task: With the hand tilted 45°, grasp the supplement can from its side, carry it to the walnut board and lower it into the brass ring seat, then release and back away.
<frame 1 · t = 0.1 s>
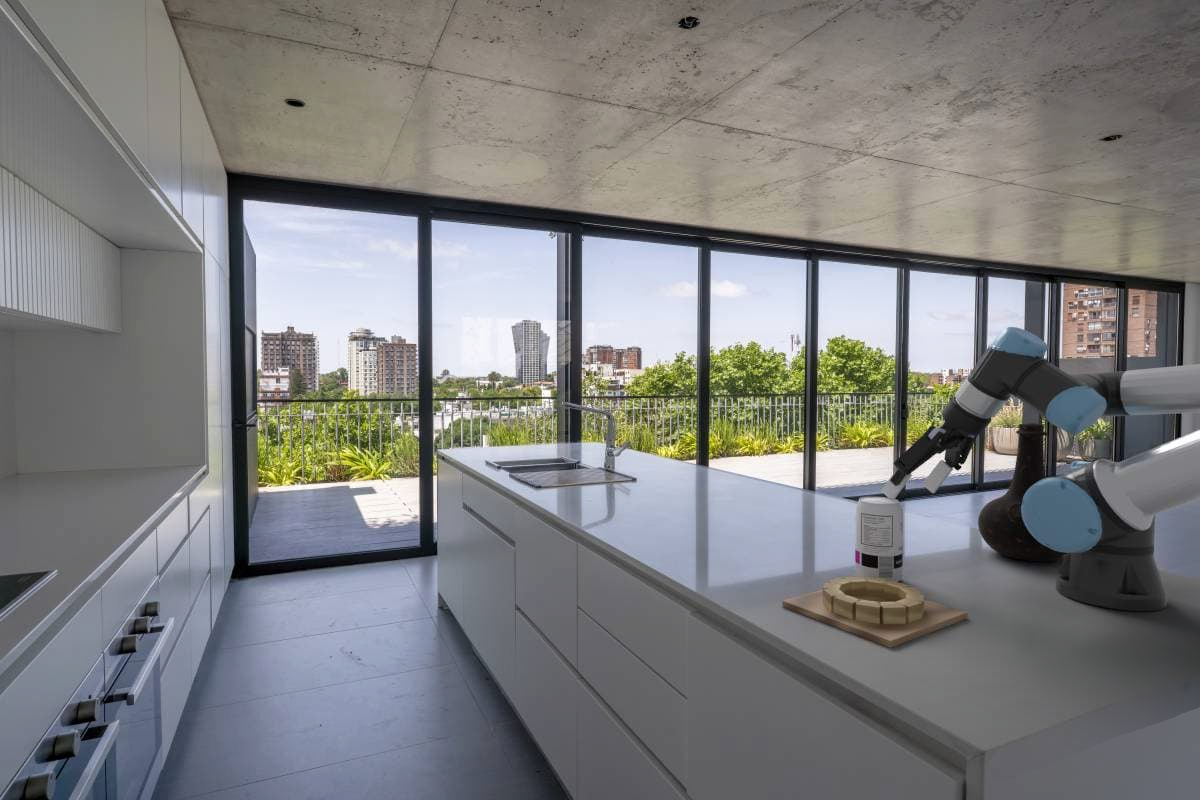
hand: (908, 492, 131), 15 cm above the worktop, tool tilted 35°, fingers open, 13 cm apart
hub seat: (872, 612, 108), on the worktop
supplement can: (878, 580, 125), on the worktop, touching gripper
dark vase: (1027, 557, 139), on the worktop
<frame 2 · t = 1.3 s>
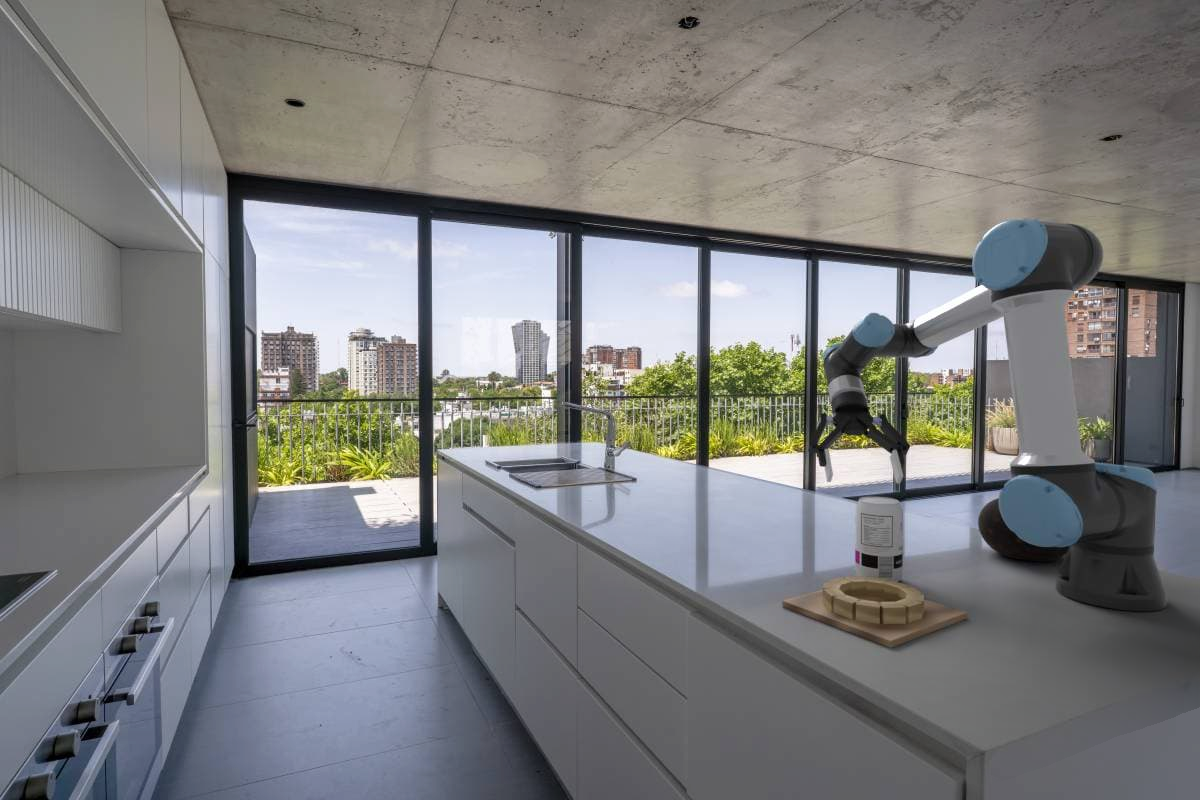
hand: (864, 479, 134), 17 cm above the worktop, tool tilted 45°, fingers open, 13 cm apart
supplement can: (878, 580, 125), on the worktop
everything else where it was.
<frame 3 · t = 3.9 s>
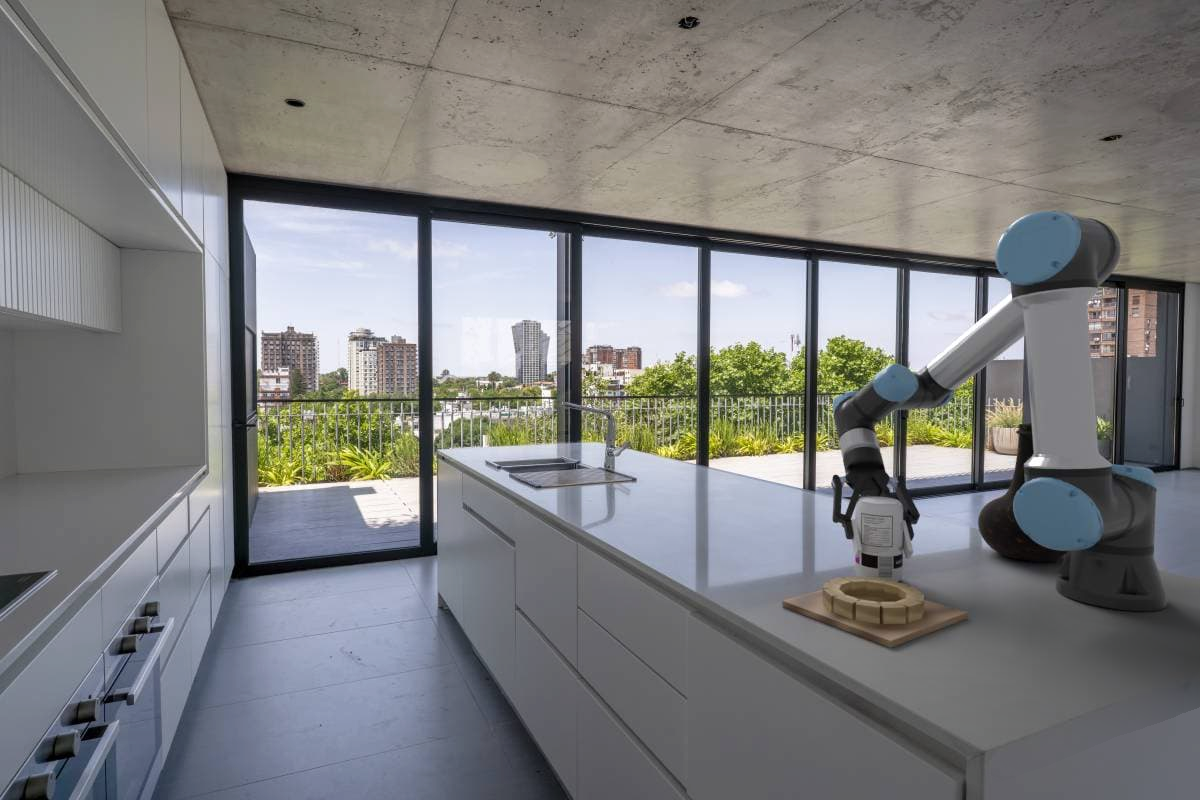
hand: (883, 554, 121), 6 cm above the worktop, tool tilted 45°, fingers closed on supplement can, 8 cm apart
supplement can: (878, 579, 125), on the worktop, touching gripper
everything else where it was.
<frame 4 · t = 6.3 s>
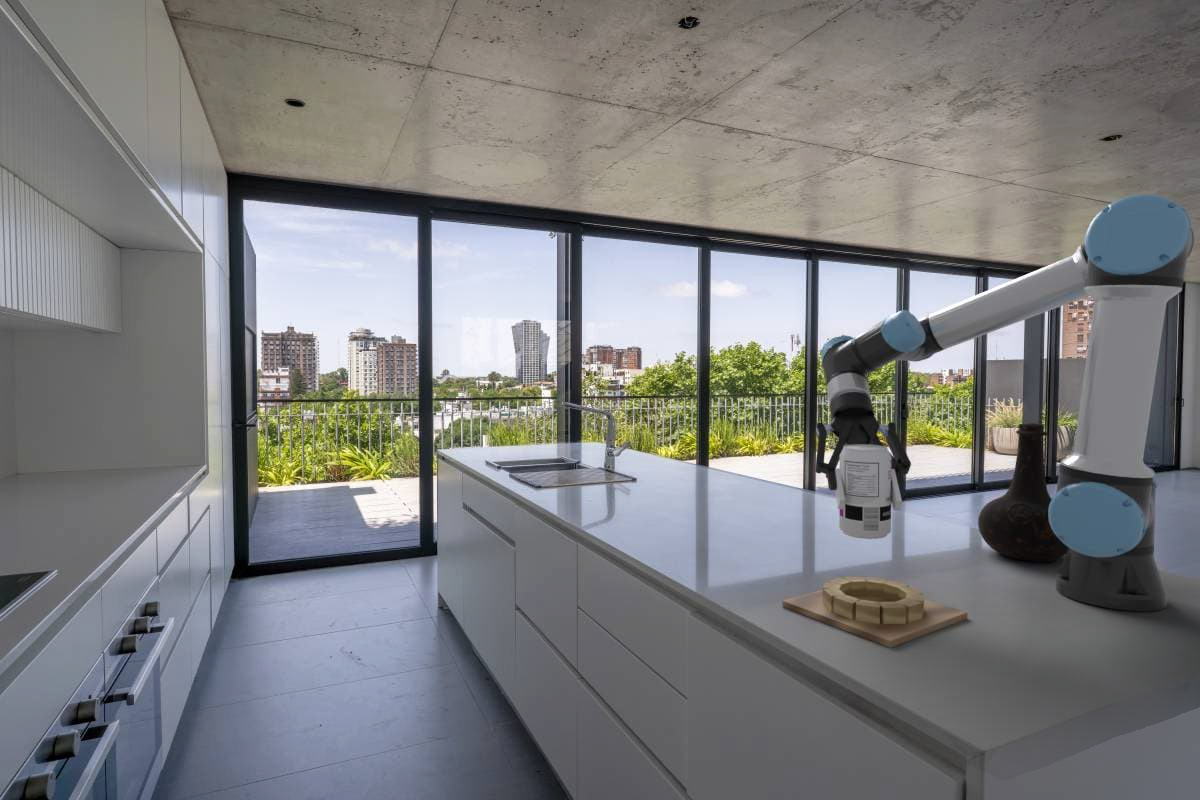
hand: (869, 505, 110), 17 cm above the worktop, tool tilted 45°, fingers closed on supplement can, 8 cm apart
supplement can: (864, 534, 114), point 11 cm above the worktop, touching gripper
everything else where it was.
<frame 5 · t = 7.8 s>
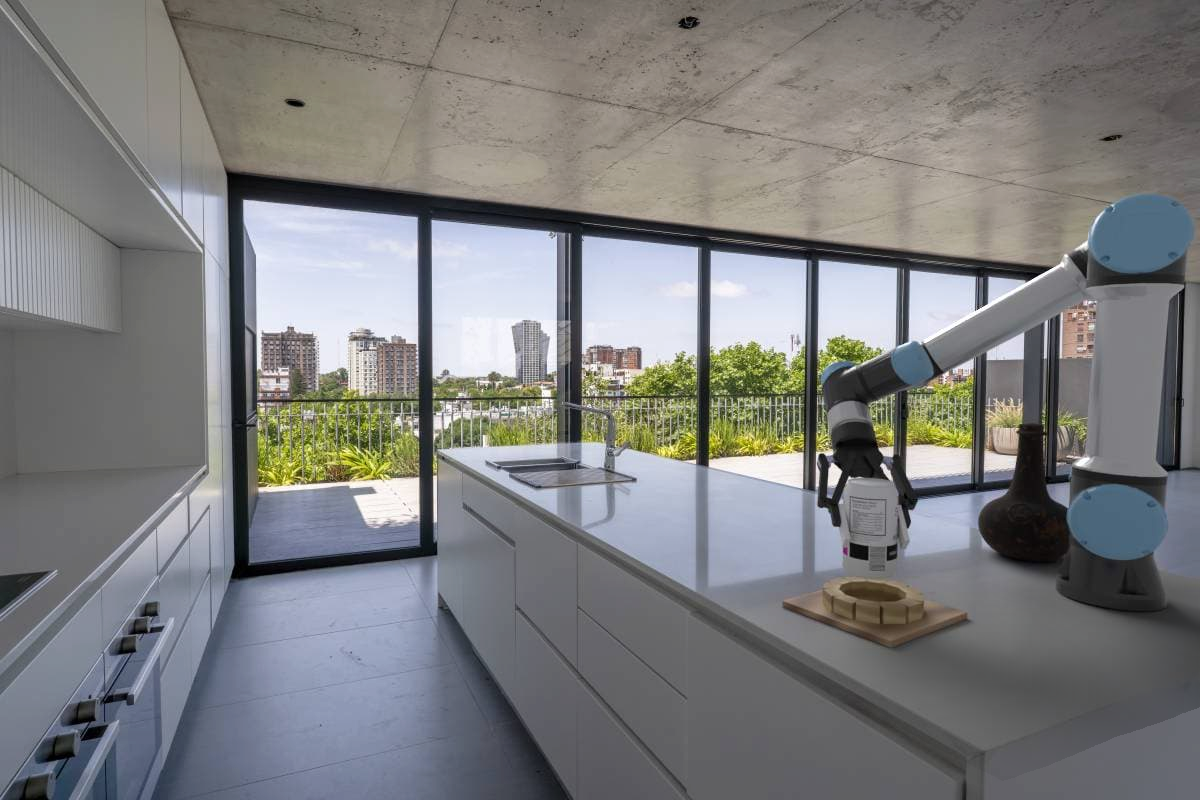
hand: (875, 543, 104), 12 cm above the worktop, tool tilted 45°, fingers closed on supplement can, 8 cm apart
supplement can: (869, 573, 108), point 6 cm above the worktop, touching gripper
everything else where it was.
when the fingers open (8 cm above the worktop, at t = 9.0 s): supplement can drops 1 cm, resting on hub seat.
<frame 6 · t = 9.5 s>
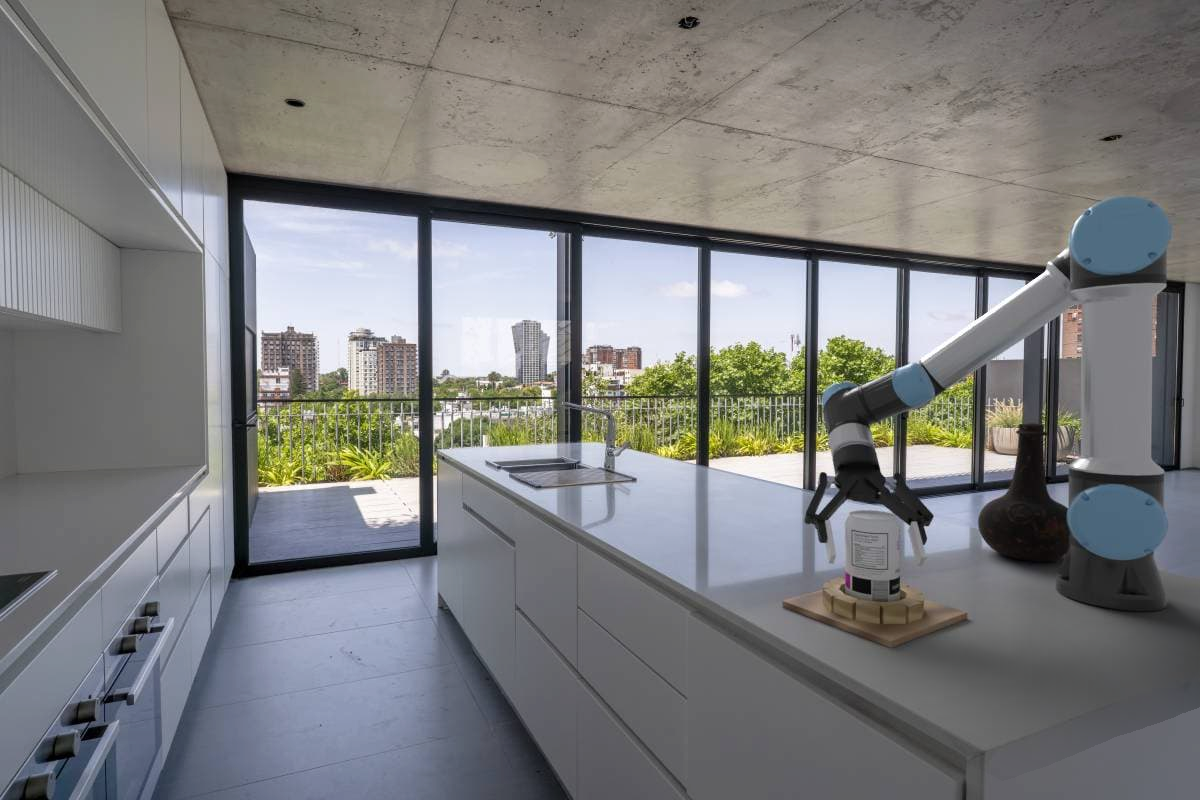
hand: (876, 560, 105), 9 cm above the worktop, tool tilted 45°, fingers open, 13 cm apart
supplement can: (872, 607, 108), point 1 cm above the worktop, touching hub seat
everything else where it was.
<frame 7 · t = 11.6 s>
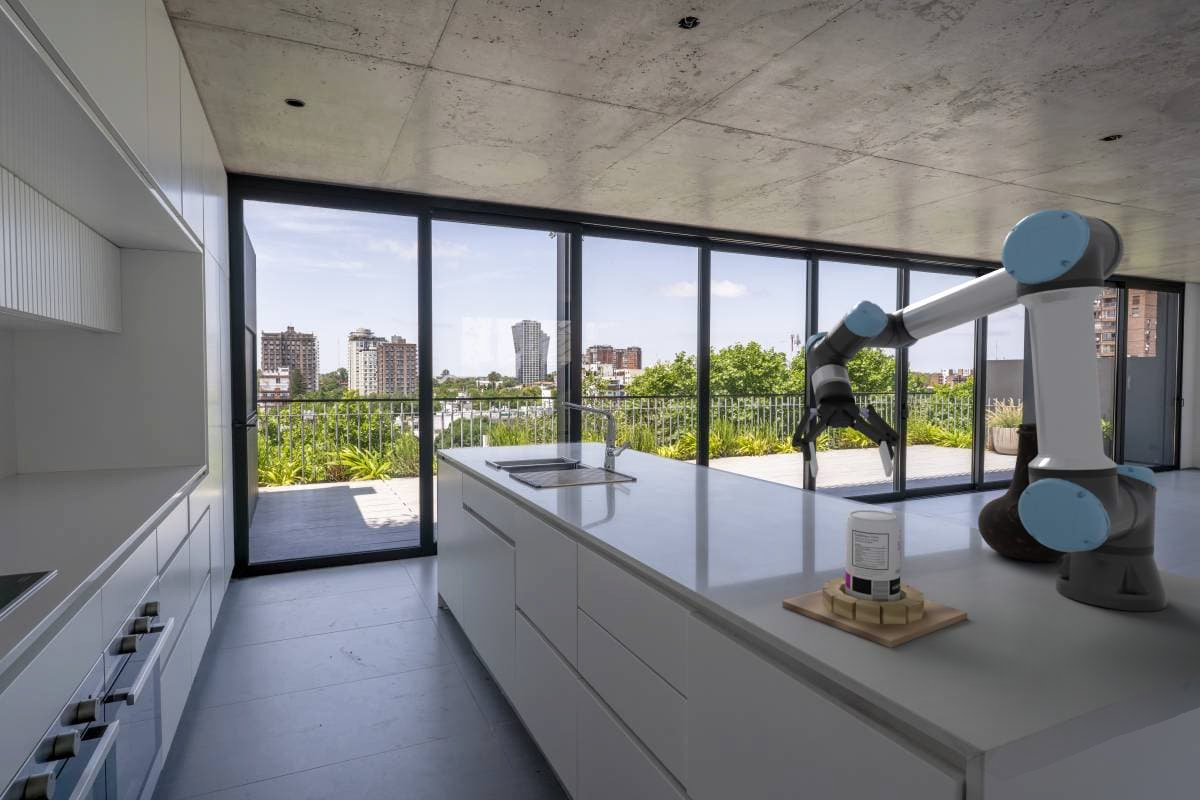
hand: (852, 472, 125), 20 cm above the worktop, tool tilted 45°, fingers open, 13 cm apart
nothing on the worktop moved.
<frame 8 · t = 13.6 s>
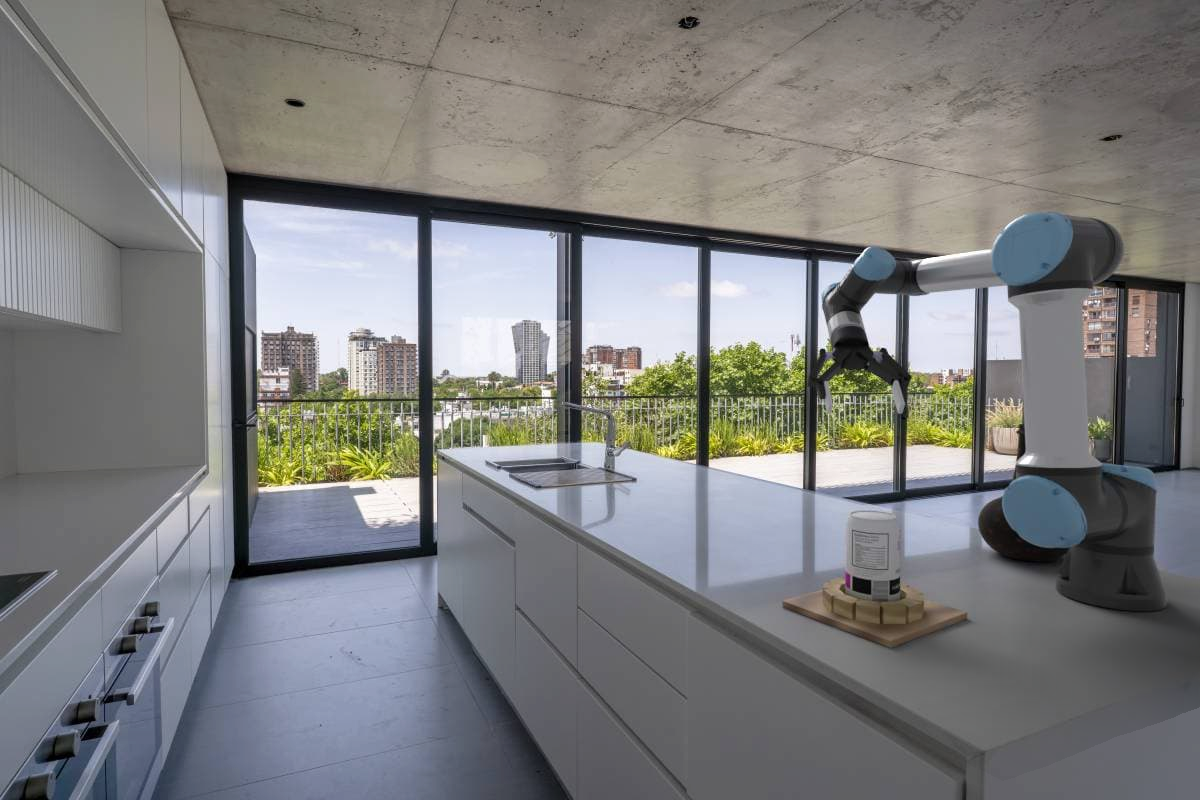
hand: (865, 409, 131), 32 cm above the worktop, tool tilted 45°, fingers open, 13 cm apart
nothing on the worktop moved.
at the end: supplement can 0.1 cm from the hub seat (horizontally); supplement can tilted 0°; supplement can point 0.8 cm above the worktop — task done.
